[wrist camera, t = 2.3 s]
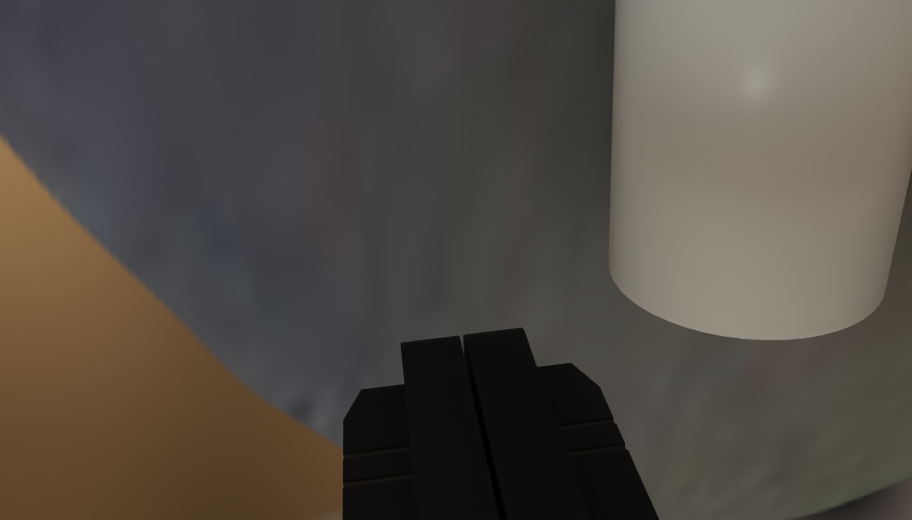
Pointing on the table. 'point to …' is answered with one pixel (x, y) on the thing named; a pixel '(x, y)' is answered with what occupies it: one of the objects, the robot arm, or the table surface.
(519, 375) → the robot arm
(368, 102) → the table surface
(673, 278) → the paper roll
